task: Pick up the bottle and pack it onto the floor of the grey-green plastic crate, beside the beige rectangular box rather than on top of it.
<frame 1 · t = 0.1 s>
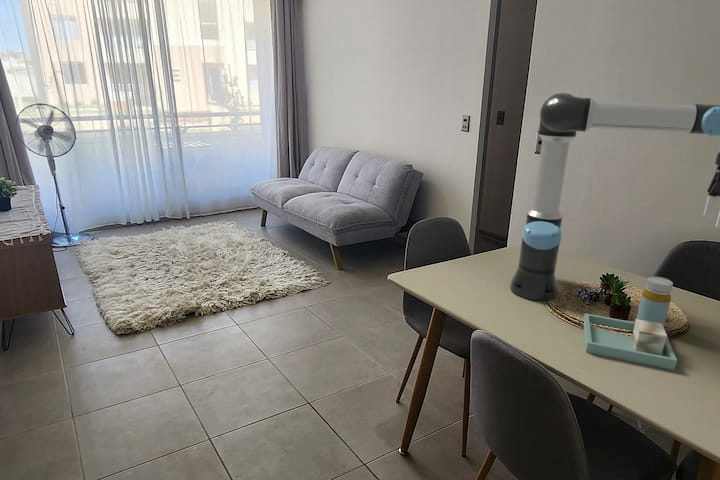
hand: (714, 221, 144), 28 cm above the table, fingers open, 13 cm apart
bottle: (648, 327, 136), on the table
beige rectangular box: (645, 347, 124), point 1 cm above the table, touching tote
tote: (624, 346, 126), on the table
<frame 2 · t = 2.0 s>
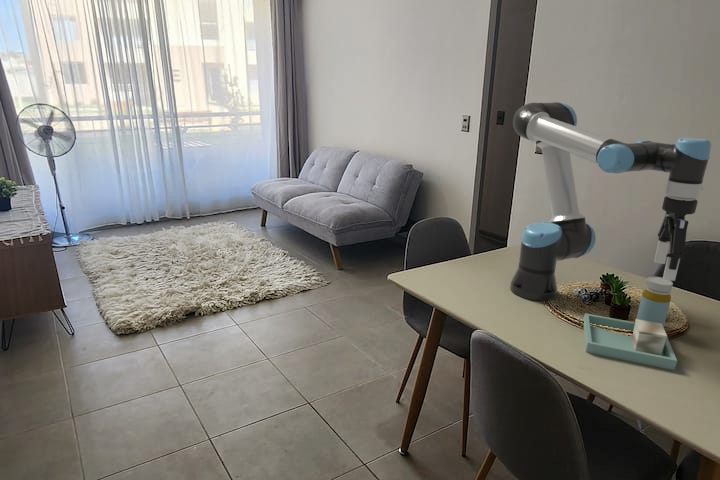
hand: (663, 271, 130), 18 cm above the table, fingers open, 13 cm apart
nothing on the table moved.
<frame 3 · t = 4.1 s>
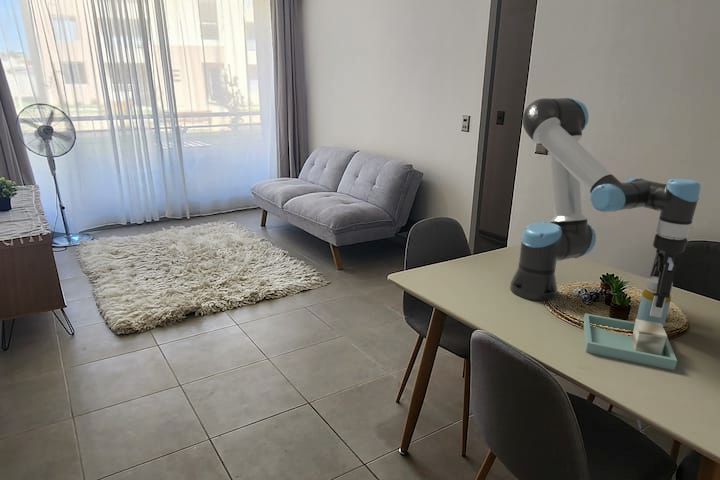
hand: (653, 310, 134), 6 cm above the table, fingers closed on bottle, 7 cm apart
bottle: (648, 327, 136), on the table, touching gripper
everything else where it was.
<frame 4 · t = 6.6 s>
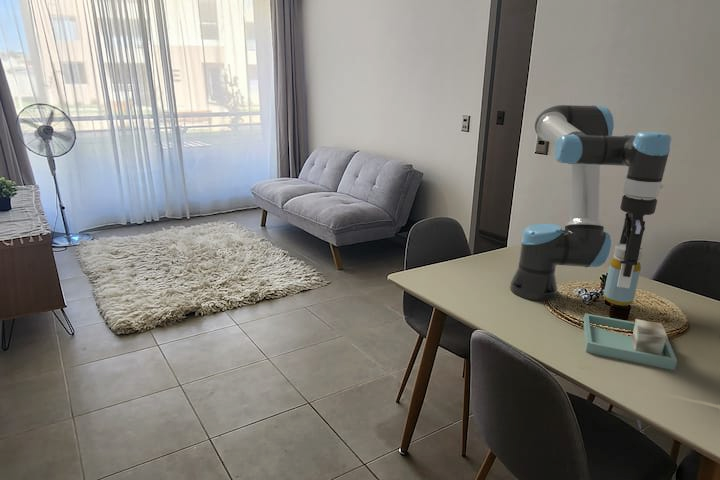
hand: (621, 281, 121), 19 cm above the table, fingers closed on bottle, 7 cm apart
bottle: (617, 301, 123), point 13 cm above the table, touching gripper
everything else where it was.
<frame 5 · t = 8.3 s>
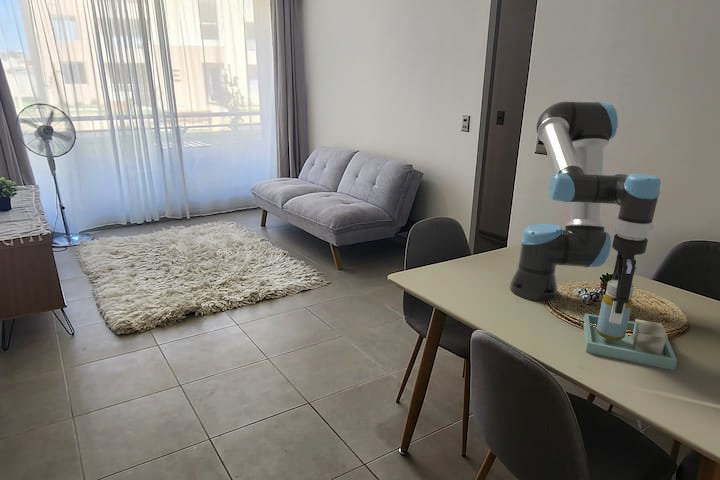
hand: (613, 316, 125), 8 cm above the table, fingers closed on bottle, 7 cm apart
bottle: (609, 335, 127), point 2 cm above the table, touching gripper
everything else where it was.
when the fingers open (7 cm above the table, at t = 9.3 s): bottle drops 1 cm, resting on tote.
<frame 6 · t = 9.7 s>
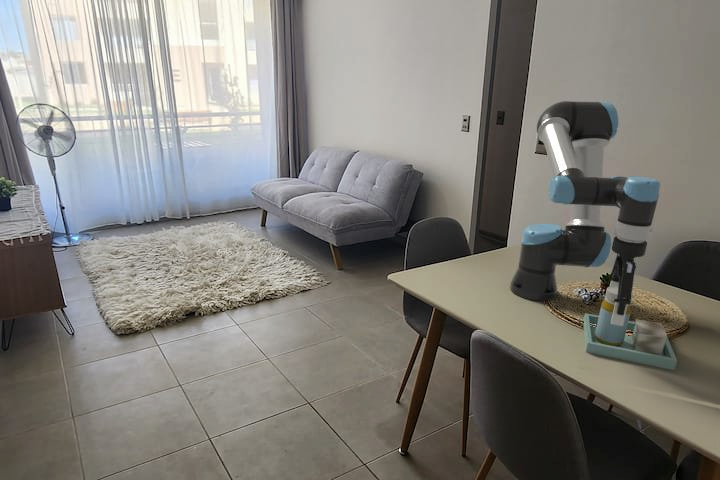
hand: (614, 313, 124), 9 cm above the table, fingers open, 13 cm apart
bottle: (608, 340, 127), point 1 cm above the table, touching tote
everything else where it was.
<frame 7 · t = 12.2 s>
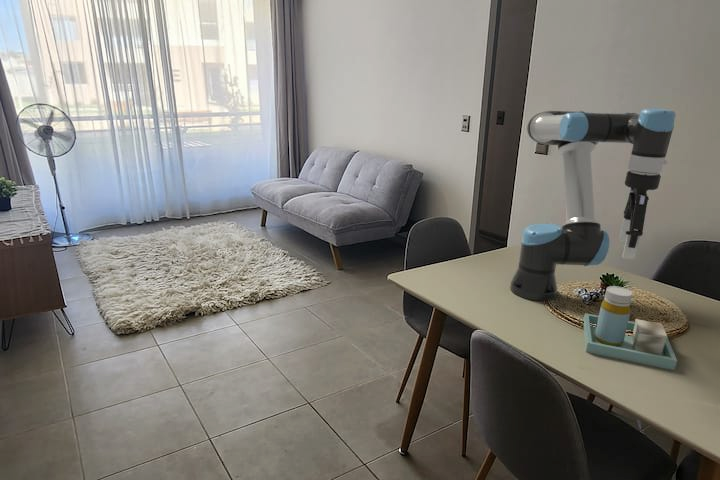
hand: (626, 249, 125), 25 cm above the table, fingers open, 13 cm apart
nothing on the table moved.
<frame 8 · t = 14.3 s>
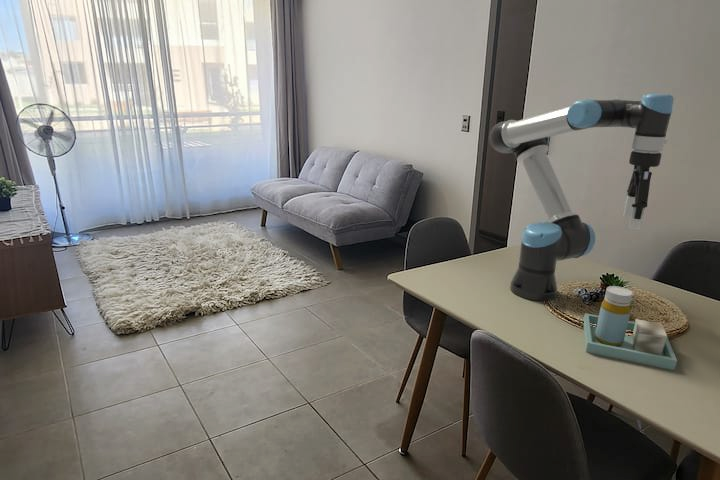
hand: (630, 223, 137), 29 cm above the table, fingers open, 13 cm apart
nothing on the table moved.
at the end: bottle inside the target area on the tote (0.5 cm from its centre), point 0.6 cm above the tote's base; bottle tilted 0°; bottle touching tote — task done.
